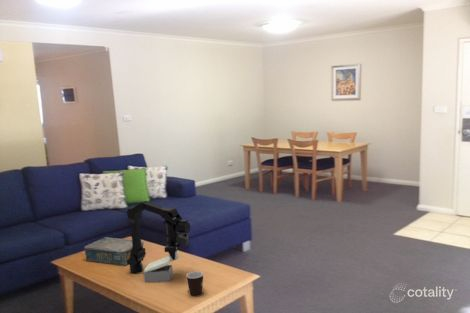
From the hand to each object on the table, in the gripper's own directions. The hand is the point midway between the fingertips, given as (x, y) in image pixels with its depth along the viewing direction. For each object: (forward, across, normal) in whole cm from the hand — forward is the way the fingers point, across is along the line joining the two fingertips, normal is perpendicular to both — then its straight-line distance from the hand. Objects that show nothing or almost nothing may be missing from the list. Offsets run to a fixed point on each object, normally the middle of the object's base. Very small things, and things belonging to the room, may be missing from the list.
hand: (174, 258), depth 236 cm
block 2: (+11, 0, +7) cm, 13 cm away
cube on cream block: (+3, 0, +7) cm, 7 cm away
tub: (+12, 0, +10) cm, 15 cm away
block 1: (+11, 0, +13) cm, 17 cm away
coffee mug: (+12, -17, -14) cm, 25 cm away
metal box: (+12, +36, +47) cm, 60 cm away
